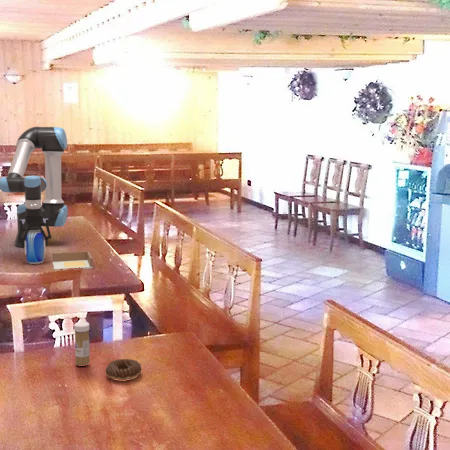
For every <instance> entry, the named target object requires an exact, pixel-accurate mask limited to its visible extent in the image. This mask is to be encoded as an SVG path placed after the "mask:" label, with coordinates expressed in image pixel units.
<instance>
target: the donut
mask: <svg viewBox="0 0 450 450" xmlns="http://www.w3.org/2000/svg"><path fill="white" fill-rule="evenodd" d="M141 372H142V365H141V363H139V362H138V360H134V359H129V358H128V359H126V358H123V359H121V358H120V359H114V360H112V361H111V362H110V363H108V364H107V366H106V368H105V374H106V376H107V377H108V378H109V377H110V378H112V379H118V380H127V379H132V378H134V377H136V376H138V375H139V374H140V375H141ZM140 375H139V376H140ZM139 376H138V377H139ZM110 378H109V379H110ZM112 379H111V380H112Z"/></svg>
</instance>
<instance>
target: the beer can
mask: <svg viewBox="0 0 450 450" xmlns="http://www.w3.org/2000/svg"><path fill="white" fill-rule="evenodd" d="M44 239H45V238H44V236H43V234H42V233H41V231H40V230H29V231H28V233H27V236H26V252H27V254H25V255H26V263H28V264H29V265H32V264H36V265H41V264H43V263H44V261H45V253H44ZM40 263H41V264H40Z"/></svg>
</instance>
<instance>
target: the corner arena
mask: <svg viewBox="0 0 450 450" xmlns="http://www.w3.org/2000/svg"><path fill="white" fill-rule="evenodd" d="M51 256H52V257H51V259H52V261H51V262H52V267H53V266H54V267H53V271H54V270H57V271H59V270H58V269H67V268H79V267H80V268H83V269H82V270H86V269H89V270H90V269H93V267H94V266H93V264H94V262H93V259H94V258H93V256H92V254H91V252H90V250H88V251H86V250H84V251H69V252H68V251H65V252H52V253H51Z"/></svg>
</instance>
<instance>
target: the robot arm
mask: <svg viewBox="0 0 450 450" xmlns="http://www.w3.org/2000/svg"><path fill="white" fill-rule="evenodd" d="M15 146H16V150H15V152H14V155H13V158H12V162H11V164H10V167H9V170H8V173H7V176H2V177H1V178H0V191H1V192H2V193H12V194H13V193H15V194H16V193H20V194H21V193H24V203H22V204H19V205H18V206H17V207H16V220H17V222H16V223H17V233H16V237H15V239H14V246H15V247H17V248H24V255H26V254H27V252H26V236H27V233H28V231H29V230H40V231H41V233H42V234H43V237H44V254H46V253H47V252H46V247H48V245H49V244H48V243H49V242H48V241H49V240H50V239H52V235H51V231H50V228H51V227H54V228H57V227H65V224H66V223H67V219H68V212H69V211H68V206H67V205H65V201H64V200H63V199H62V155H63V154H64V153H65V150H66V149H67V148H68V138H67V132H66V131H65V129H64V128H63V127H60V126H58V127H57V126H33V127H30V128H28V129H26V130H25V131H23V133H22V134H20V135H19V137H18V138H17V141H16V143H15ZM36 149H41V153H42V154H43V155H44V177H42V176H39V175H28V176H25V177H24V175H25V173H26V169H27V168H28V167H27V166H28V163H29V161H30V157H31V154H32V153H33V152H34V151H35V150H36ZM43 192H45V193H44V195H45V197H44V200H43V201H42V193H43ZM43 227H46V232H47V234H46V233H45V230H44V229H43Z"/></svg>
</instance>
